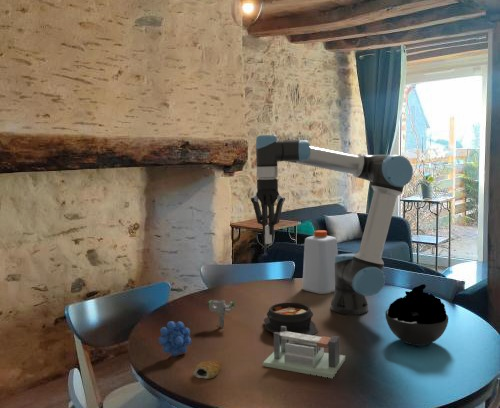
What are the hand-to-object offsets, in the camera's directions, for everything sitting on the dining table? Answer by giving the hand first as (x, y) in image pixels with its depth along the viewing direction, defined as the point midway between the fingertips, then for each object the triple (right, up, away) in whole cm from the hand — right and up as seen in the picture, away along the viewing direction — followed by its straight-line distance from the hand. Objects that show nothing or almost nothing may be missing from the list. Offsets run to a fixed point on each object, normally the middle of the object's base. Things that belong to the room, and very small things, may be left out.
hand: (268, 243), depth 177 cm
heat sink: (+11, -34, -26) cm, 44 cm away
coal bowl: (+49, -33, -13) cm, 61 cm away
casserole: (+8, -33, +2) cm, 34 cm away
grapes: (-30, -36, -19) cm, 51 cm away
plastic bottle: (+27, -26, +53) cm, 65 cm away
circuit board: (+10, -35, -26) cm, 45 cm away
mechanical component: (-17, -33, +7) cm, 38 cm away
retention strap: (+10, -28, -26) cm, 40 cm away
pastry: (-19, -37, -31) cm, 52 cm away
